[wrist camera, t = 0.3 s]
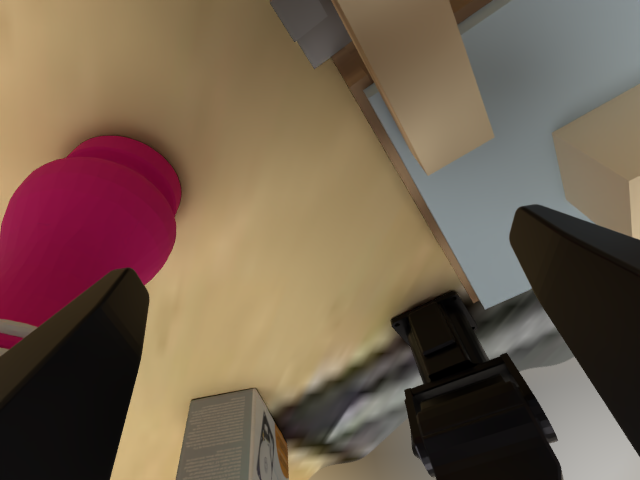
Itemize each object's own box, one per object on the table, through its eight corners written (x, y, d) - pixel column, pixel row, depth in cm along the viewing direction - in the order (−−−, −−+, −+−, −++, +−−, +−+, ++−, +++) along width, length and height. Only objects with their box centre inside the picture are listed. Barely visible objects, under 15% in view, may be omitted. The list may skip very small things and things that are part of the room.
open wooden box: (602, 159, 24) (757, 253, 16) (427, 249, 27) (486, 362, 20) (553, -263, 12) (999, -616, 5) (264, -13, 16) (256, 14, 8)
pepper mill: (107, 97, 18) (-863, 905, 3) (214, 188, 22) (76, 728, 7) (33, 178, 20) (-716, 864, 5) (142, 248, 24) (-85, 751, 9)
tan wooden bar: (468, 116, 13) (494, 137, 11) (410, 151, 14) (428, 175, 12) (368, -153, 8) (389, -179, 7) (288, -81, 9) (292, -89, 8)
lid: (662, 199, 20) (778, 270, 15) (472, 287, 23) (521, 369, 18) (667, -132, 11) (942, -196, 6) (359, 84, 14) (398, 143, 10)
